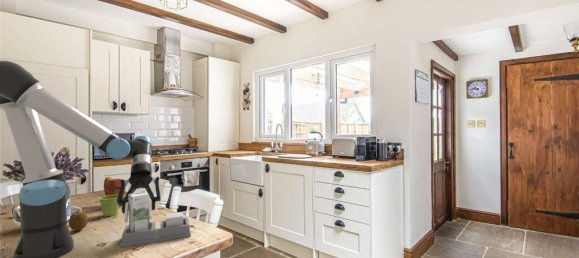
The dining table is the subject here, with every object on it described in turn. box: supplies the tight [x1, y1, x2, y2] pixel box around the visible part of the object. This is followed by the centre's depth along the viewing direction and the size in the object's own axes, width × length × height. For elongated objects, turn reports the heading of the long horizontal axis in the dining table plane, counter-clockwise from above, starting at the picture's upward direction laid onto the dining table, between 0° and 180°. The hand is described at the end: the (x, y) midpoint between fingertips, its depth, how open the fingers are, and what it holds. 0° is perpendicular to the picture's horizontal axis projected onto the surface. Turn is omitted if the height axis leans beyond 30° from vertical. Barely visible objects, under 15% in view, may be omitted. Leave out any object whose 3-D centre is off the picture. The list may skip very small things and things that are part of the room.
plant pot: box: [97, 195, 120, 218], centre depth 137 cm, size 9×9×9 cm
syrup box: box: [128, 191, 151, 232], centre depth 106 cm, size 6×6×14 cm
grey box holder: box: [119, 211, 192, 248], centre depth 108 cm, size 23×11×7 cm, turn 112°
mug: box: [103, 176, 125, 207], centre depth 154 cm, size 15×8×15 cm, turn 58°
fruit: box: [68, 210, 89, 232], centre depth 116 cm, size 6×6×8 cm
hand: (138, 219), depth 103 cm, fingers closed on syrup box, 7 cm apart
